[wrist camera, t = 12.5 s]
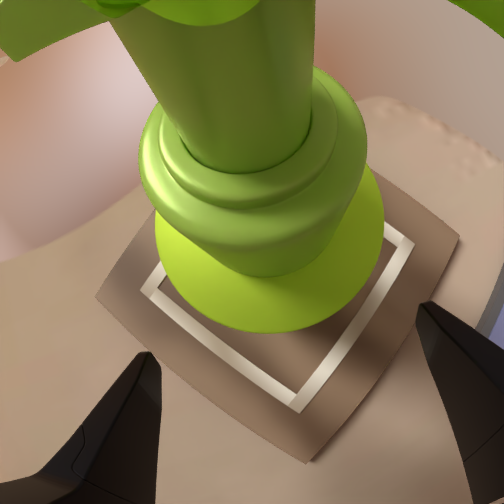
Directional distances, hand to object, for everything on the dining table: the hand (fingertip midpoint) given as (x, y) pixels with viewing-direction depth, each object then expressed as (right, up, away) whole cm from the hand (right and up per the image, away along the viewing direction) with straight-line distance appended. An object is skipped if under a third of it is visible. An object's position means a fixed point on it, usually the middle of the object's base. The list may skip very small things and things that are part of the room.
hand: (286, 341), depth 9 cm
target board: (+1, +2, +12) cm, 12 cm away
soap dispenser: (+1, +1, +11) cm, 11 cm away
